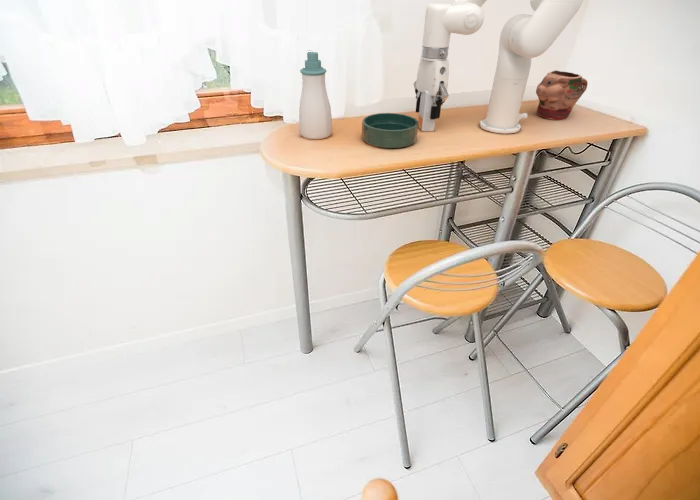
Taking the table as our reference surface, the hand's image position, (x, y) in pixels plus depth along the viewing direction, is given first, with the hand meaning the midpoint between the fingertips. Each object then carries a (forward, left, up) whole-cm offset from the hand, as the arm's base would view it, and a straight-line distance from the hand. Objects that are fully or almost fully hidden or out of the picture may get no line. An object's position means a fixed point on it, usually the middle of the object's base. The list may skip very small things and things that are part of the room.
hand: (427, 114), depth 125 cm
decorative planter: (-49, +9, -4) cm, 50 cm away
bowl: (+16, +4, -4) cm, 17 cm away
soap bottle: (+34, -10, -4) cm, 36 cm away
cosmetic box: (0, 0, -4) cm, 4 cm away
